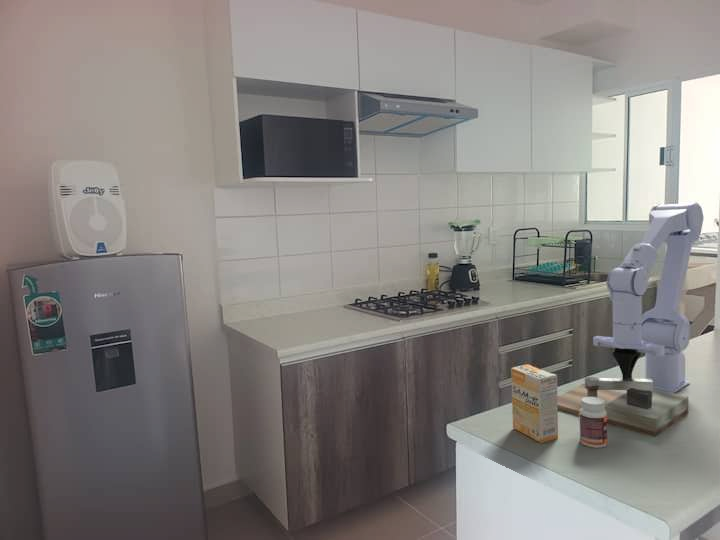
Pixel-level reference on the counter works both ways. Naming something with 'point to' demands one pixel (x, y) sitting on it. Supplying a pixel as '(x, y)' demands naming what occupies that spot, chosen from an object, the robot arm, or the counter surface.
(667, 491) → the counter surface
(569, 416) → the counter surface
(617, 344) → the robot arm
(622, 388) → the bar
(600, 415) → the pill bottle
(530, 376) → the supplement box
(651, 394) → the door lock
